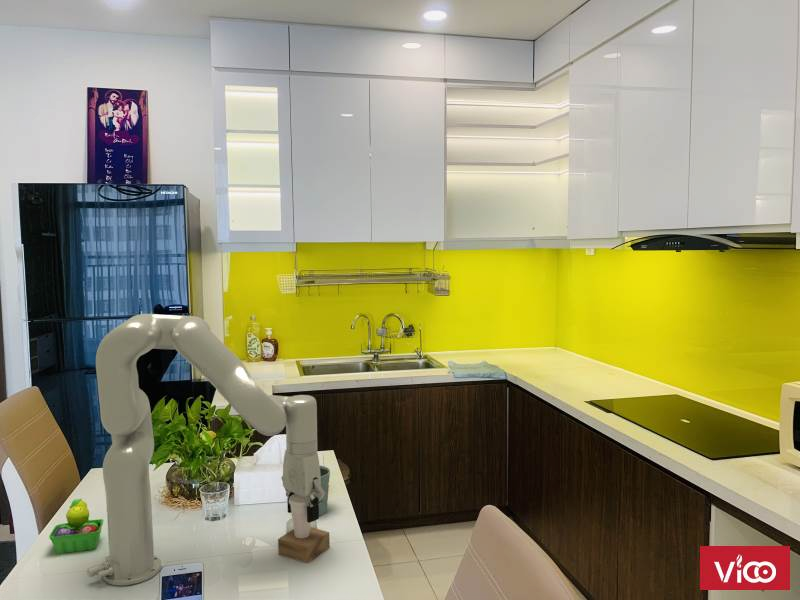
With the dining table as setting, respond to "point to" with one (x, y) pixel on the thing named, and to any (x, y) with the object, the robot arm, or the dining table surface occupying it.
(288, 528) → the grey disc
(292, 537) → the walnut base
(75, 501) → the fruit basket
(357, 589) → the dining table surface
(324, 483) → the grey-green hollow tall cylinder
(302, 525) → the smoothie
